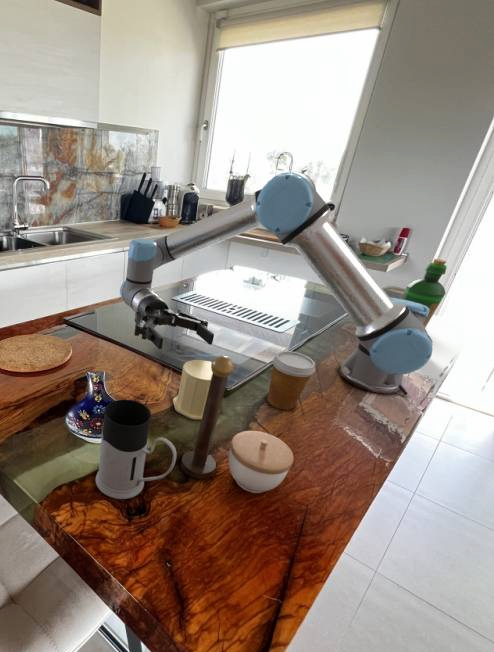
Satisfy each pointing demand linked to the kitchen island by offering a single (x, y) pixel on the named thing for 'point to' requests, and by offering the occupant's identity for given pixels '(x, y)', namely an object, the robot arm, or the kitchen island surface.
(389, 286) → the coffee mug
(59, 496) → the kitchen island surface
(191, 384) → the hat
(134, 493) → the glass holder
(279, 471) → the trinket box
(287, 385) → the disposable coffee cup
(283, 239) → the robot arm
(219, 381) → the stand
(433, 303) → the bottle
